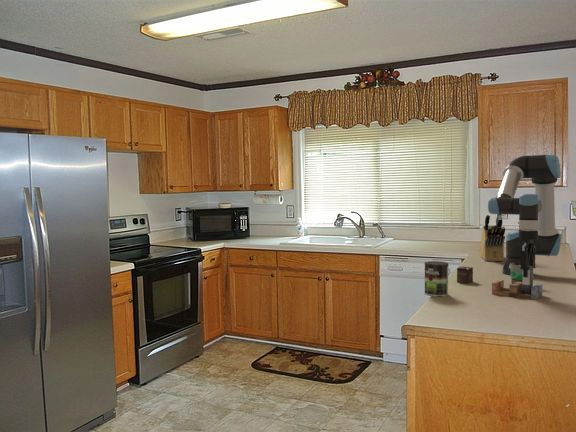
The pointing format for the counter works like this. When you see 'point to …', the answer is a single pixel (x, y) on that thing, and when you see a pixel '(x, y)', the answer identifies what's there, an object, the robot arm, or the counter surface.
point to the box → (465, 274)
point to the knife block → (492, 240)
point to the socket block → (516, 290)
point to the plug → (528, 287)
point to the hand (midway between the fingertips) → (527, 283)
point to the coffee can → (436, 278)
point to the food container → (516, 273)
